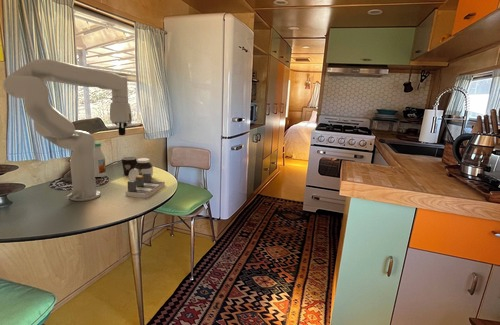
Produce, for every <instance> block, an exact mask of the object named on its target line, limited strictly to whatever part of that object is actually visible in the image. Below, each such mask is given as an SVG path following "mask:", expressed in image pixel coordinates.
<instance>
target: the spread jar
mask: <svg viewBox="0 0 500 325" xmlns="http://www.w3.org/2000/svg"><path fill="white" fill-rule="evenodd" d="M136 161H137V163H136V164H135V166H134V169H132V170H130V172H129V175H128V179H129V181H130V180H133V181H136V176H138V175H142V176H143V173H145V172H147V173H151V178H152V177H153V175H154V172H153V171H154V169H153V168H154V167H153V164H152V163H151V162H150V158H147V157H140V158H137V160H136Z"/></svg>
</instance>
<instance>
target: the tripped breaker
mask: <svg viewBox="0 0 500 325" xmlns="http://www.w3.org/2000/svg"><path fill="white" fill-rule="evenodd" d="M135 181H136V186H143V185H144V177H143V176H142V175H138V176H136V180H135Z"/></svg>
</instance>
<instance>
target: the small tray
mask: <svg viewBox="0 0 500 325" xmlns="http://www.w3.org/2000/svg"><path fill="white" fill-rule="evenodd" d="M143 177H144V185H143V186H136V180H135V181H133V180H130V179H129V180H128V181H127V190H126V191H125V197H133V198H134V197H135V198H143V199H148V198H149V197H150V196H152V195H153V194H155V193H156V192H157V191H159V190H161V189H162V188H164V187H165V181H157V180H156V181H155V180H152V177H151V173H147V172H145V173H143Z"/></svg>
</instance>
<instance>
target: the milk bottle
mask: <svg viewBox="0 0 500 325" xmlns="http://www.w3.org/2000/svg"><path fill="white" fill-rule="evenodd" d="M105 156H106V155H105V154H104V152H103V150H102V144H101V142H95V148H94V166H95V177H101V178H105V177H106V176H107V169H106V157H105Z"/></svg>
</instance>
